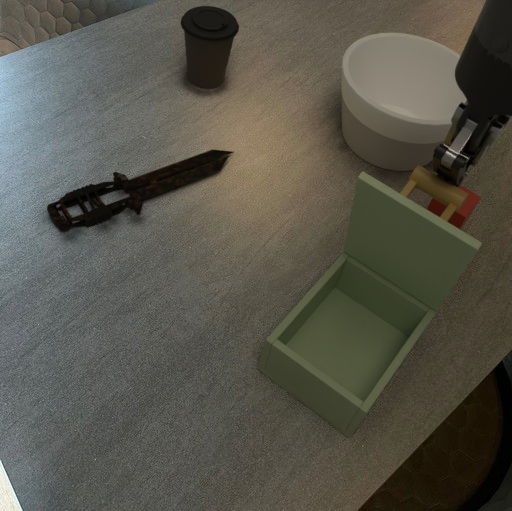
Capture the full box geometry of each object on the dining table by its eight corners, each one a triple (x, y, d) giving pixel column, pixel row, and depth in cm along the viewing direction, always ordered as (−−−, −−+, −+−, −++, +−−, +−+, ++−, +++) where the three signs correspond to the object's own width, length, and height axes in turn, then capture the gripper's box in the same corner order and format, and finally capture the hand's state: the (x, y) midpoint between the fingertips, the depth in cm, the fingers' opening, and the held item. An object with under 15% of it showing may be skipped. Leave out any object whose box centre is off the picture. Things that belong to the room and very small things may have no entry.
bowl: (473, 183, 87) (508, 124, 78) (341, 186, 83) (362, 124, 75) (430, 93, 98) (456, 33, 90) (311, 93, 94) (327, 29, 86)
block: (455, 239, 80) (481, 196, 74) (440, 259, 78) (466, 217, 71) (425, 220, 81) (448, 177, 75) (410, 240, 79) (432, 197, 73)
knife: (228, 148, 85) (229, 140, 84) (251, 180, 82) (252, 173, 81) (42, 199, 75) (40, 191, 74) (59, 238, 72) (57, 231, 71)
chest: (349, 438, 62) (366, 413, 57) (256, 369, 65) (265, 339, 60) (417, 341, 70) (437, 311, 65) (331, 283, 73) (344, 250, 68)
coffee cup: (226, 100, 91) (232, 39, 83) (171, 87, 91) (173, 25, 83) (238, 67, 96) (245, 8, 88) (186, 55, 96) (189, -6, 88)
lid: (477, 250, 50) (509, 204, 52) (357, 177, 54) (390, 135, 55) (436, 311, 65) (462, 274, 66) (343, 251, 68) (370, 216, 69)
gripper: (540, 101, 42) (444, 256, 55) (600, 24, 49) (503, 179, 63) (442, 50, 44) (373, 212, 58) (513, -16, 51) (437, 142, 65)
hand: (441, 194), depth 60 cm, fingers closed
